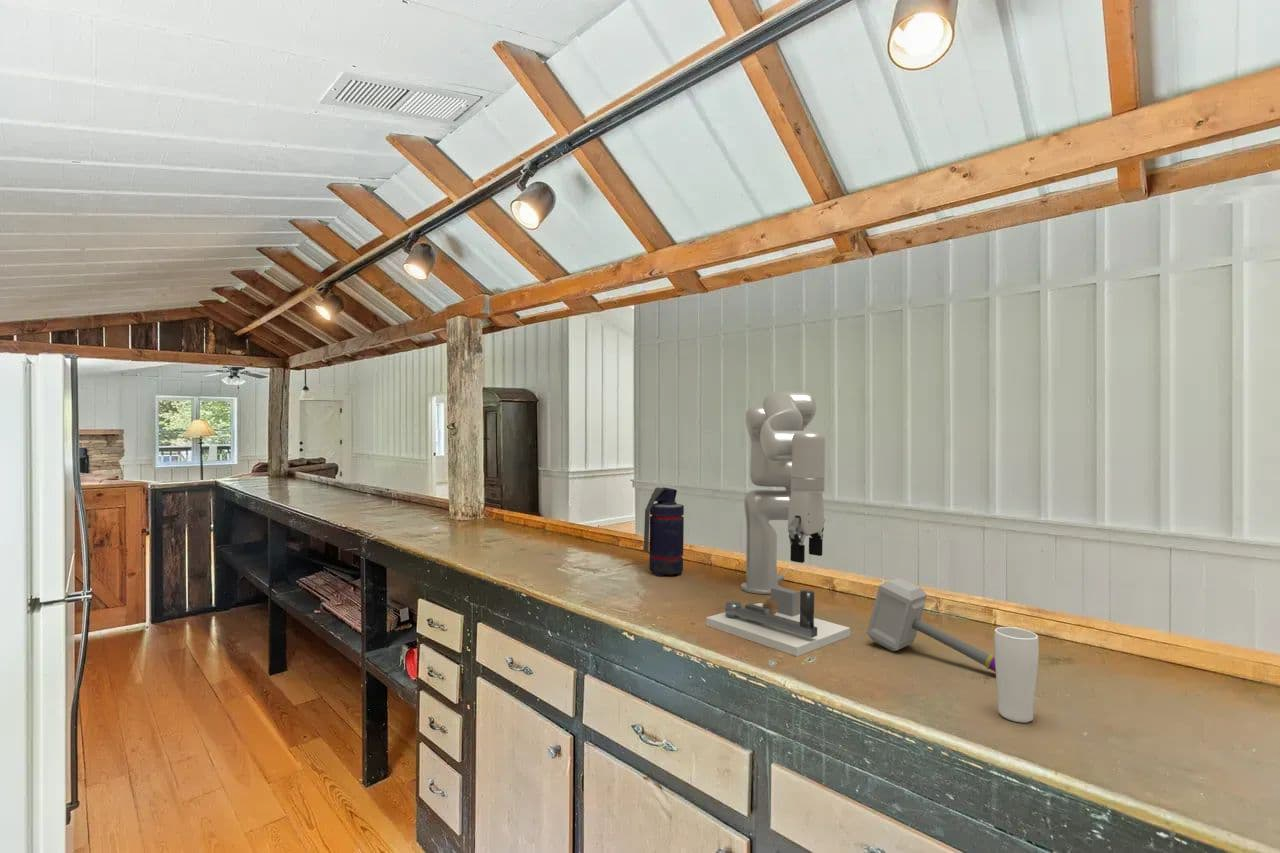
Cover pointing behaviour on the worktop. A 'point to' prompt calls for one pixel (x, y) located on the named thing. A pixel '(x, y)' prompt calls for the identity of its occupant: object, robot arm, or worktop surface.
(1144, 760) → the worktop surface
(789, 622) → the lever
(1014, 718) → the drinking glass
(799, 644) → the base
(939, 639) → the hammer
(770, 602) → the walnut
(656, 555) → the grenade
